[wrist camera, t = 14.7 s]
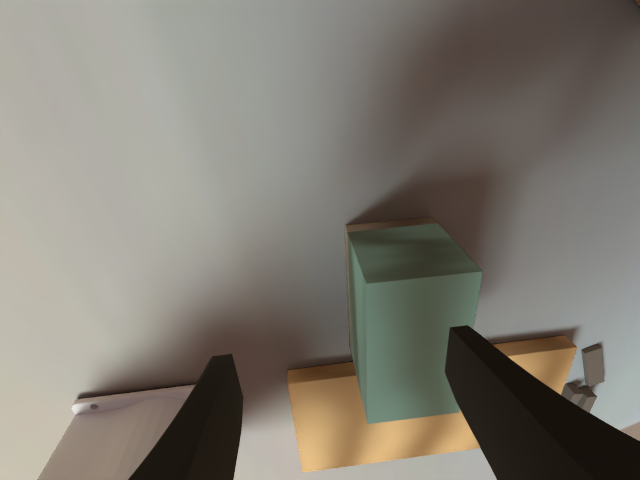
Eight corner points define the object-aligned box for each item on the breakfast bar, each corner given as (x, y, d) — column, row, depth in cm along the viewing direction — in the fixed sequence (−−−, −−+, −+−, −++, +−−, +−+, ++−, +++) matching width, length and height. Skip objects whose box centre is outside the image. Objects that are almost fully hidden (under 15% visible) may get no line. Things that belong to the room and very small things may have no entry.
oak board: (301, 457, 29) (302, 472, 28) (287, 370, 25) (287, 384, 23) (536, 425, 30) (545, 438, 29) (564, 335, 25) (577, 347, 24)
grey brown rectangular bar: (551, 427, 29) (560, 428, 29) (574, 393, 27) (583, 394, 27) (542, 414, 30) (550, 415, 30) (563, 381, 28) (572, 381, 28)
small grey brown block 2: (571, 430, 29) (580, 429, 29) (587, 397, 27) (596, 396, 28) (561, 417, 30) (570, 416, 30) (575, 385, 28) (585, 384, 29)
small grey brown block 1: (604, 381, 28) (596, 373, 28) (601, 347, 26) (593, 340, 27) (588, 386, 28) (581, 378, 28) (585, 353, 26) (577, 345, 27)
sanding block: (349, 344, 24) (367, 424, 19) (344, 224, 20) (366, 283, 15) (421, 335, 24) (459, 412, 19) (430, 216, 20) (482, 271, 15)
